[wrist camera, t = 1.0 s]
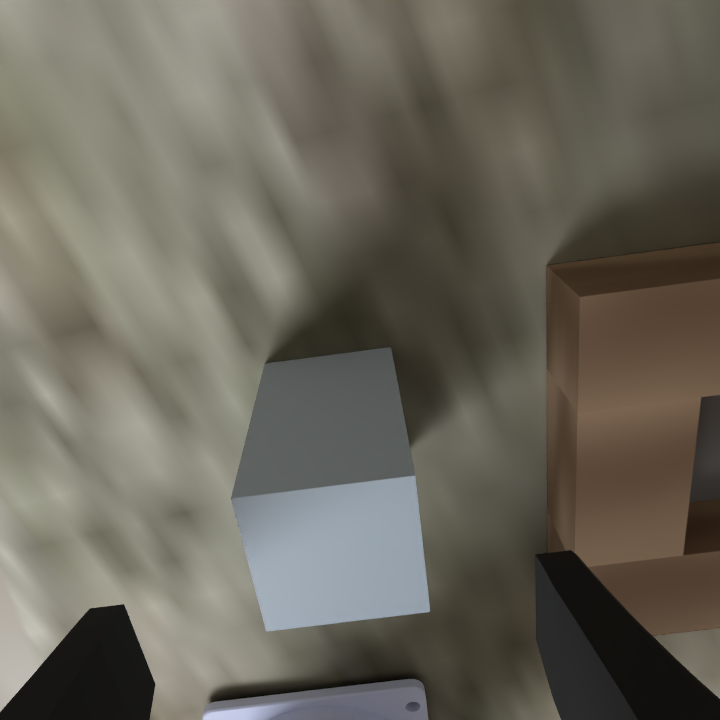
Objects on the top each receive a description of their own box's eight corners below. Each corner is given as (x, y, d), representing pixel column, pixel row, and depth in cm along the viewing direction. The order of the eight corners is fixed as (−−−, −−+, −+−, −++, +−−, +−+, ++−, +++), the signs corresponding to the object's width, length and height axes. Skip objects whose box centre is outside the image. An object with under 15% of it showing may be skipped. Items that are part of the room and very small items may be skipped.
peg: (403, 453, 19) (430, 612, 13) (287, 468, 19) (266, 631, 13) (390, 346, 17) (415, 475, 12) (264, 363, 17) (231, 498, 12)
